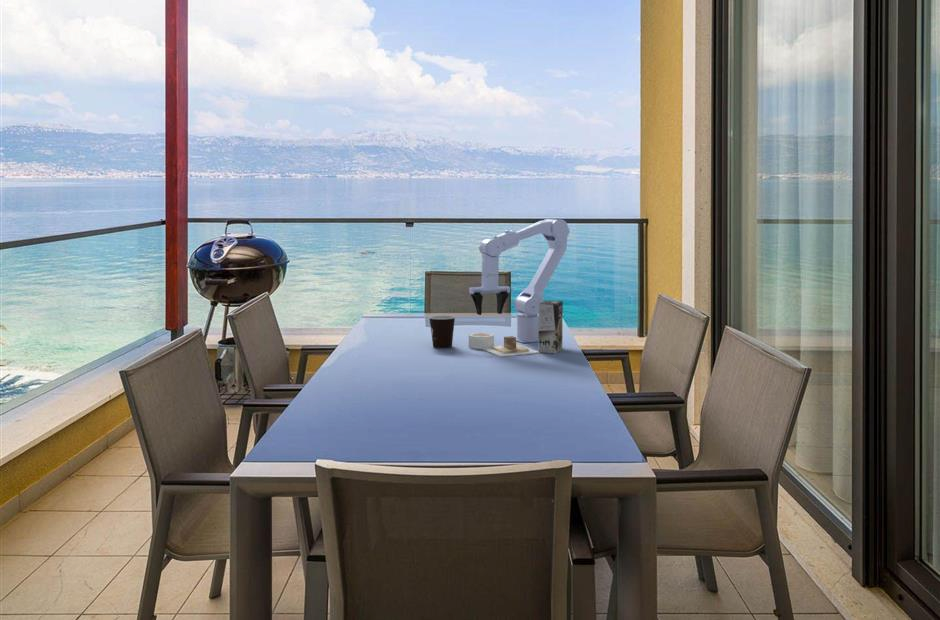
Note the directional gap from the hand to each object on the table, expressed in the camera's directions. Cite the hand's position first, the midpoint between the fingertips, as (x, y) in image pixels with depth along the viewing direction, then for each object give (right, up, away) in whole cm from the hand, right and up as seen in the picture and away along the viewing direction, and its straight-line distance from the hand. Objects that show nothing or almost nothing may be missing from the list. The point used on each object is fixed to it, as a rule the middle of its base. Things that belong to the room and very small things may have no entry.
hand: (489, 314), depth 291 cm
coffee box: (+20, -12, -11) cm, 26 cm away
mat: (+7, -12, -12) cm, 18 cm away
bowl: (-3, -11, -3) cm, 12 cm away
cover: (+7, -12, -12) cm, 18 cm away
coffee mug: (-16, -11, -1) cm, 19 cm away
